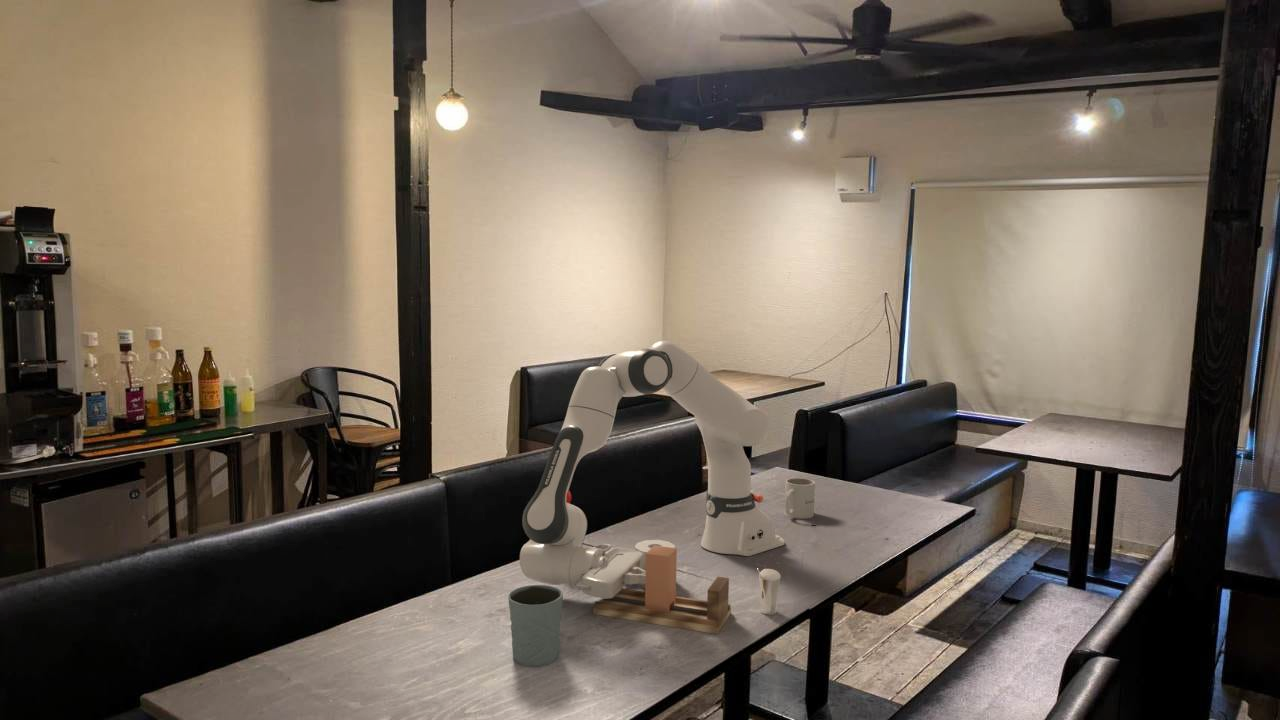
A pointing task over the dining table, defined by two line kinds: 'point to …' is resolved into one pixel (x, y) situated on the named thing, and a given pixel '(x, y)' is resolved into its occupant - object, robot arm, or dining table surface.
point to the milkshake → (769, 590)
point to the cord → (670, 605)
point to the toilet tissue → (646, 546)
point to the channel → (707, 623)
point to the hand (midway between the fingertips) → (649, 578)
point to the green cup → (535, 624)
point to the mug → (799, 498)
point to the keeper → (660, 578)
